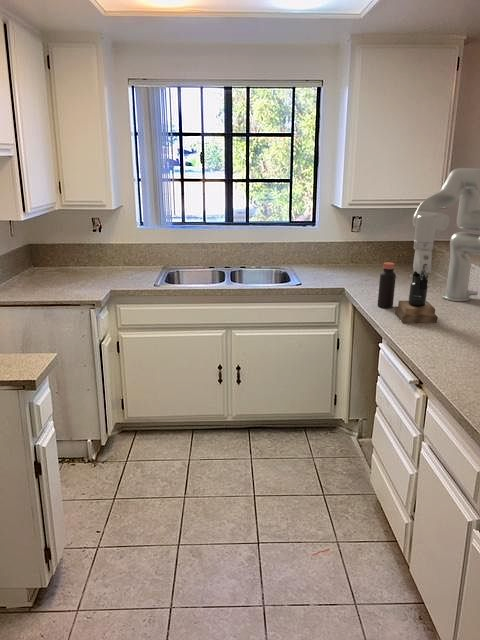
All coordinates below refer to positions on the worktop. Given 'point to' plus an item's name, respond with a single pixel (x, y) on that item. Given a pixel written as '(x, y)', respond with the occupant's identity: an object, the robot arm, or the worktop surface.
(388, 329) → the worktop surface
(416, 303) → the supplement bottle
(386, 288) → the vinegar
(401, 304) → the stepped wooden plinth
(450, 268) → the robot arm
